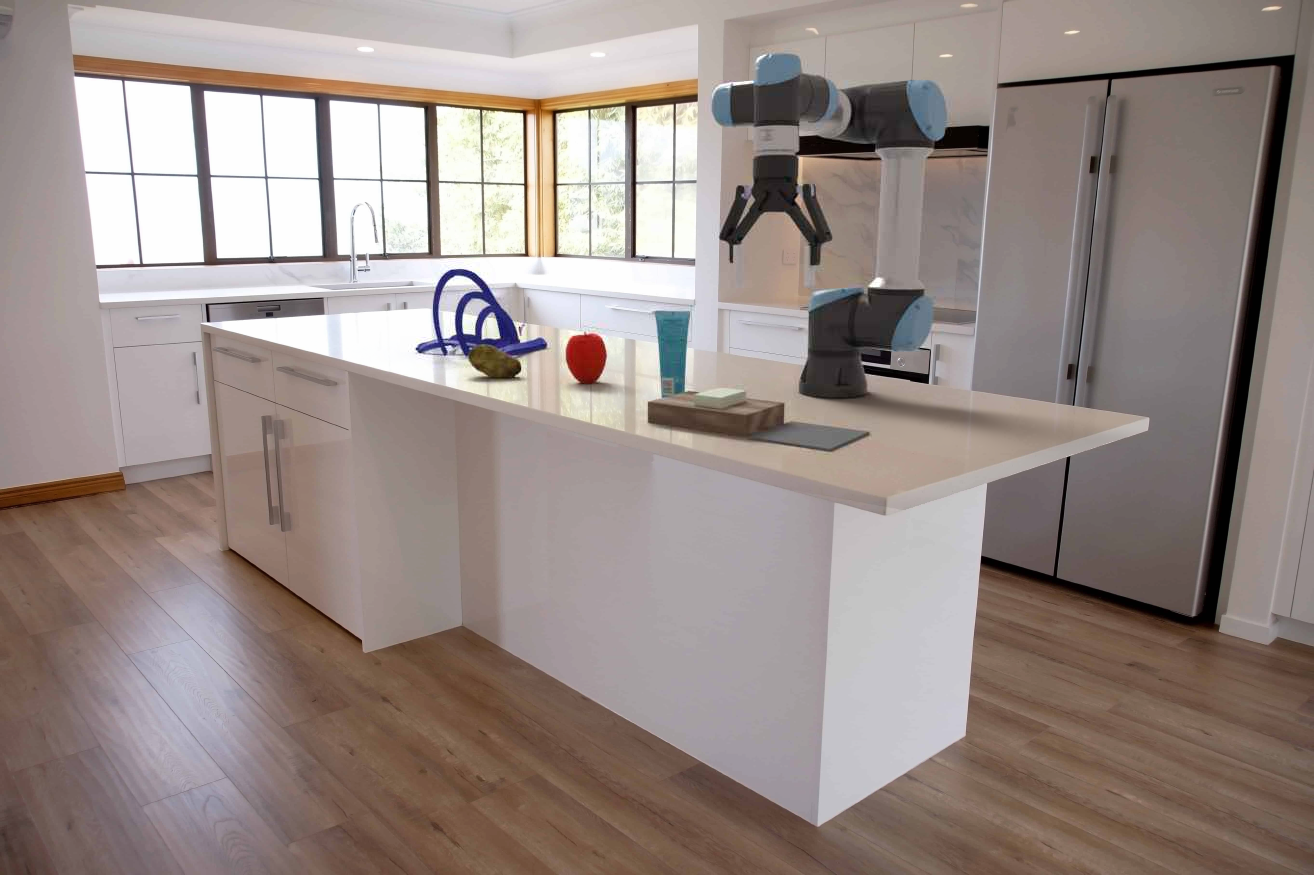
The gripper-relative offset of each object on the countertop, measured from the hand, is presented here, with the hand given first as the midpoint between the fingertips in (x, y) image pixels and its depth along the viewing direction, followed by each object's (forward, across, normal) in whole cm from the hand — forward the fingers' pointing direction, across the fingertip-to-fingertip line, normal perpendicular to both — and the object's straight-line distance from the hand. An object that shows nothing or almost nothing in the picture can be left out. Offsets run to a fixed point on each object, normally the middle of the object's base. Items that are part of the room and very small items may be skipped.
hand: (773, 284), depth 164 cm
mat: (+27, +4, +7) cm, 28 cm away
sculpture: (+28, -126, +54) cm, 140 cm away
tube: (+28, -35, +21) cm, 50 cm away
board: (+27, -16, +7) cm, 32 cm away
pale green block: (+23, -15, +7) cm, 28 cm away
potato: (+28, -89, +22) cm, 96 cm away
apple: (+28, -65, +29) cm, 76 cm away
